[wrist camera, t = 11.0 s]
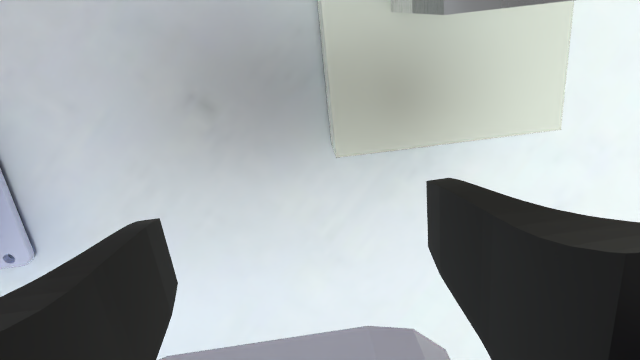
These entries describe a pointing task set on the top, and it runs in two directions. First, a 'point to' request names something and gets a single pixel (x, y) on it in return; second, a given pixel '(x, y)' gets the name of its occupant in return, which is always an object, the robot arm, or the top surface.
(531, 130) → the sage stand
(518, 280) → the robot arm
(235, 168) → the top surface
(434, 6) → the housing
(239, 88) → the top surface
